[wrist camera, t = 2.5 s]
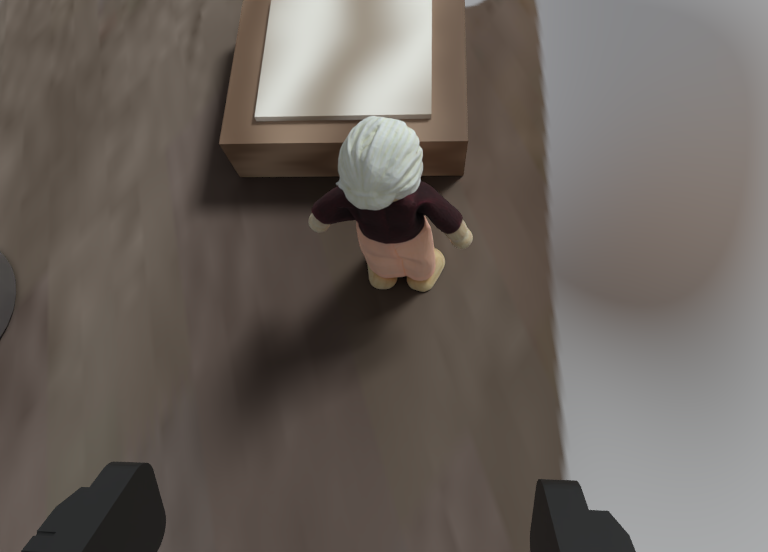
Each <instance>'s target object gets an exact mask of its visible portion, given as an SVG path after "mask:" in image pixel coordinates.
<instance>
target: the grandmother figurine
mask: <svg viewBox="0 0 768 552" xmlns="http://www.w3.org/2000/svg"><path fill="white" fill-rule="evenodd" d="M422 157H423V150H422V148H421V147H420V146H419V138H418V136H417V135H416V133H415V131H414V130H413V129H411V128H409V127H408V126H407V125H406V123H405V122H403V121H400V120H397V119H392V118H385V117H377V116H370V117H367V118H365V119H363V120H362V121H360V122H359V123H358V124H357V125H356V126H355V127H354V128H353V129H352V130H351V131H350V133H349V135H348V136H347V138H346V139H345V141H344V142H343V144H342V146H341V149H340V152H339V158H338V172H339V175H340V180H339V182H337V183H336V185H338V186H337V187H335V188H334V189H332V190H330V191H329V192H328V193H326V194H325V195H324V196H323V197H321V198H320V199H319V200H318V201H316V202H315V203H314V205H313V207H312V214H311V215H310V217H309V221H308V222H309V226H310V228H311V229H312V230H314V231H315V232H324V231H326V230H327V229H328V228H329V226H330V225H331V224H333V223H337V222H342V221H348V220H356V228H357V235H358V240H359V245H360V248H361V250H362V252H363V254H364V256H365V259H366V262H367V266H368V274H369V281H370V283H371V285H372V286H373V287H374V288H377V289H389V288H391V287H393V286H394V285H395V283H396V281H397V278H398V277H404V276H407V283H408V285H409V286H410V287H411V288H412V289H414V290H417V291H421V292H425V291H428V290H430V289H431V288H432V287H433V285H434V284H435V282H436V280H437V279H438V277H439V275H440V274H441V272H442V270H443V268H444V265H445V259H444V256H443V254H442V253H441V252H440V251H439V250H437V249H436V248H434V245H433V237H432V231H431V227H430V225H429V224H428V222H427V220H426V218H425V216H424V215H426V216H427V217H428V218H429V219H430V220H431V221H432V223H433V224H434V225H435V226H436V227H437V228H438V229H440V230H441V231H442V232H444V233H445V235H446V236H447V237H448V238H449V239H450V240H451V243H452V244H453V245H454V246H455V247H456V248H458V249H465V248H467V247H468V246H470V244H471V242H472V239H473V237H472V233H471V232H470V230H469V229H468V228H467V226H466V224H465V222H464V221H463V217H462V215H461V213H460V212H459V211H458V210H457V209H456V208H455V207H454V206H452V205H451V204H450V203H449V202H448V201H447V200H445V199H444V198H443V197H442V196H441V195H440V194H439V193H438V192H437V191H436V190H435V189H434V188H433V187H431V186H430V185H429V184H427V183H425V182H422V181H421V175H422V172H423V162H422Z"/></svg>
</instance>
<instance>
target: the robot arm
mask: <svg viewBox="0 0 768 552" xmlns="http://www.w3.org/2000/svg"><path fill="white" fill-rule="evenodd" d="M15 298H16V280H15V276H14V273H13V269H12V267H11V265H10V263H9V262H8V260H7V259H6V257H5V256H4V255H3V254H2V253H1V252H0V337H1V335H2V334H3V332H4V330H5V329H6V327H7V325H8V322H9V320H10V317H11V315H12V312H13V309H14V303H15ZM165 526H166V515H165V510H164V507H163V503H162V499H161V496H160V492H159V489H158V485H157V482H156V478H155V474H154V471H153V468H152V466H151V465H150V464H149V463H135V462H111V463H109V464H108V465H106V466H105V467H104V469H103V470H102V471H101V473H100V474H99V475H98V477H97V478H96V479H95V481H94V482H93V483H92V485H91V486H90V487H81V488H80V489H78V490H77V491H76V492H75V493H73V494H72V495H71V496H69V497H68V498H67V499H66V500H64V501H63V502H62V503H60V504H59V505H58V506H57V507H56V508H55V509H54V510H53V511H52V513H51V514H50V515H49V516H48V518H47V519H46V520H45V522H44V523H43V524H42V525H41V527H40V528H39V529H38V530H37V535H36V536H33V537H32V538H31V539H30V541H29V542H28V543H27V544H26V546H25V547H24V548H23V550H22V551H21V552H157V551H158V549H159V547H160V545H161V542H162V539H163V536H164V532H165ZM530 551H531V552H636V551H635V549H634V547H633V544H632V541H631V539H630V536H629V535H628V533H627V532H626V531H625V530H624V529H623V528H622V526H621V525H620V524H619V523H618V522H617V521H616V520H615V518H614V517H613V516H612V515H611V514H610V513H609V511H595V510H589V509H588V506H587V504H586V501H585V498H584V495H583V492H582V489H581V486H580V485H579V483H578V482H577V481H571V480H545V479H539V480H538V481H537V485H536V492H535V500H534V507H533V515H532V523H531V531H530Z"/></svg>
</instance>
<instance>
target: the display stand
mask: <svg viewBox="0 0 768 552" xmlns="http://www.w3.org/2000/svg"><path fill="white" fill-rule="evenodd" d="M370 116H377V117H385V118H392V119H397V120H400V121H403V122H405V123H406V125H407V126H408V127H409V128H411V129H413V130H414V131H415V133H416V135H417V136H418V138H419V146H420V147H421V148H422V150H423V157H422V162H423V172H422V175H421V176H463V174H464V167H465V159H466V152H467V144H468V122H467V81H466V39H465V0H243V4H242V10H241V16H240V22H239V28H238V34H237V40H236V46H235V52H234V58H233V64H232V70H231V75H230V81H229V87H228V93H227V99H226V105H225V111H224V117H223V123H222V129H221V135H220V141H219V145H220V146H221V148H222V150H223V151H224V153H225V154H226V156H227V158H228V159H229V161H230V162H231V164H232V166H233V167H234V169H235V170H236V172H237V173H238V175H239V177H332V176H340V175H339V172H338V158H339V152H340V149H341V146H342V144H343V142H344V141H345V139H346V138H347V136H348V135H349V133H350V131H351V130H352V129H353V128H354V127H355V126H356V125H357V124H358V123H359V122H360V121H362V120H363V119H365V118H367V117H370Z"/></svg>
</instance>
